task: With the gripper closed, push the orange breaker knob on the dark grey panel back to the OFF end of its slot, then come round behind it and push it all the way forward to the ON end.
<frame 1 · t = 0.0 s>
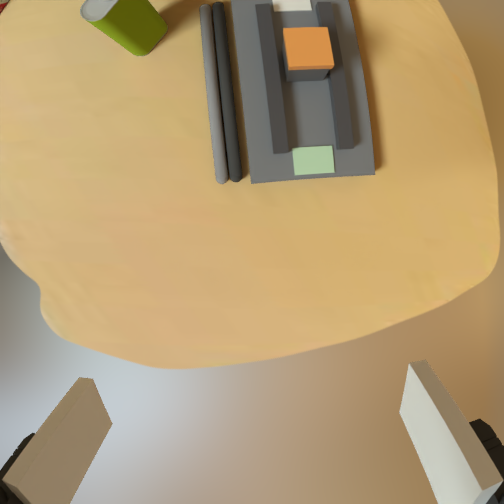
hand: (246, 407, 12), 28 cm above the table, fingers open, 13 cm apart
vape: (148, 36, 33), on the table
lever: (305, 56, 28), point 5 cm above the table, slide at 5.0 cm
grey twin rods: (220, 86, 34), on the table
panel: (301, 78, 33), on the table
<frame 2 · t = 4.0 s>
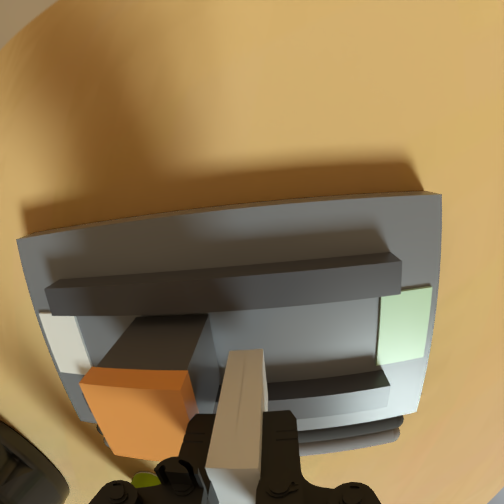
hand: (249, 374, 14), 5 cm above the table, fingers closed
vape: (161, 486, 24), on the table
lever: (162, 383, 14), point 5 cm above the table, slide at 3.8 cm, touching gripper
grey twin rods: (243, 437, 21), on the table
panel: (224, 327, 19), on the table
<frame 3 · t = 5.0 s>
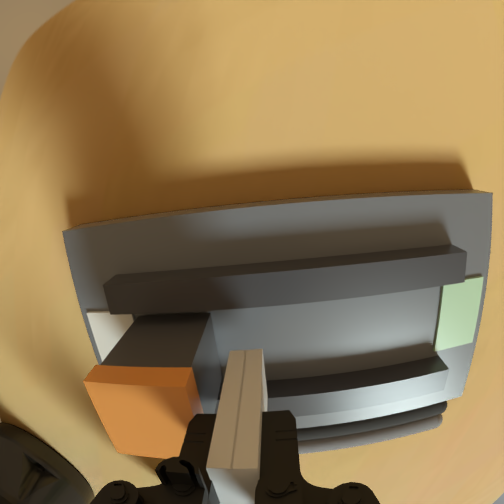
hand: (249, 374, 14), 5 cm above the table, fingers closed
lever: (165, 381, 14), point 5 cm above the table, slide at -0.1 cm, touching gripper
grey twin rods: (296, 432, 21), on the table
panel: (291, 321, 19), on the table
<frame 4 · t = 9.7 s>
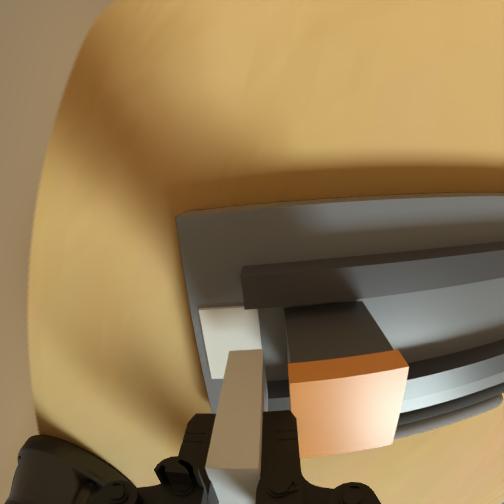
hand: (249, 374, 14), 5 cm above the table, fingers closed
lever: (334, 373, 13), point 5 cm above the table, slide at 0.8 cm, touching gripper
grey twin rods: (383, 420, 21), on the table
panel: (399, 309, 18), on the table
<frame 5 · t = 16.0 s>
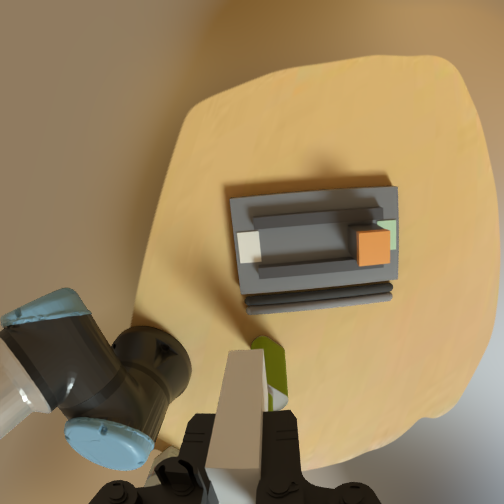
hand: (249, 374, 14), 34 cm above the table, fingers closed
ink box: (177, 459, 62), on the table
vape: (267, 348, 52), on the table
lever: (367, 242, 41), point 5 cm above the table, slide at 12.0 cm
grey twin rods: (320, 297, 49), on the table
panel: (318, 237, 47), on the table
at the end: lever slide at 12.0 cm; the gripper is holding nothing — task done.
